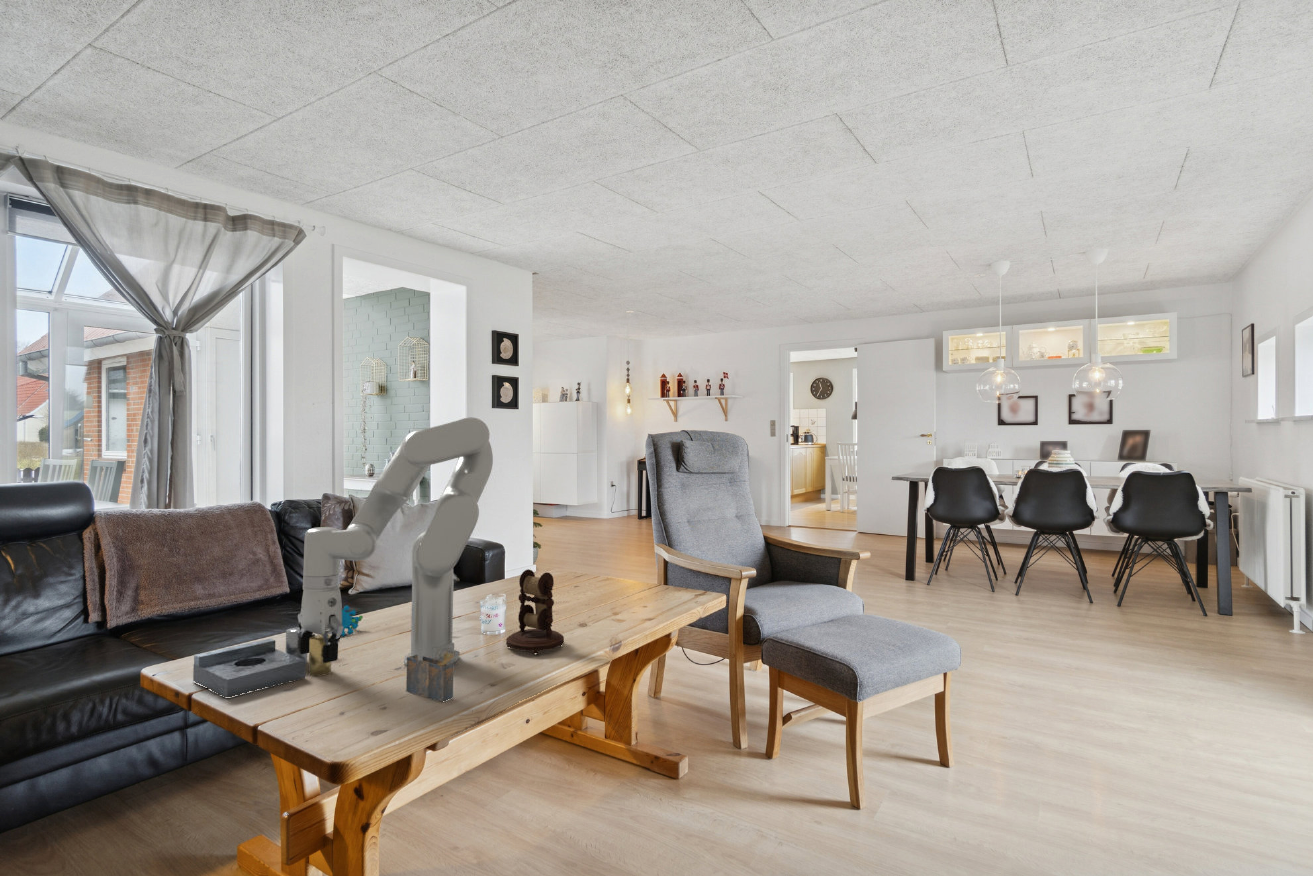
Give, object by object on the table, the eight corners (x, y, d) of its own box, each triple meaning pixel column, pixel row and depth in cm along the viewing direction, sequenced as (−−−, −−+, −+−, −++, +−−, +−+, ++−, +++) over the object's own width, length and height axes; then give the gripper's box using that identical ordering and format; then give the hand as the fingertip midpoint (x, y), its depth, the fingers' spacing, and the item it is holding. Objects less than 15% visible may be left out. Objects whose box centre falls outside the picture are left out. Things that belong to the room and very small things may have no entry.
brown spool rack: (575, 646, 180) (576, 570, 180) (535, 660, 168) (537, 578, 168) (534, 636, 188) (535, 564, 188) (493, 649, 176) (495, 571, 176)
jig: (304, 678, 153) (305, 651, 153) (227, 699, 140) (227, 669, 140) (269, 663, 162) (270, 638, 162) (193, 682, 149) (193, 655, 149)
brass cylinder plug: (335, 672, 157) (335, 637, 157) (315, 677, 153) (316, 641, 153) (324, 668, 160) (325, 633, 160) (304, 673, 156) (305, 638, 156)
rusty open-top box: (454, 700, 143) (455, 653, 143) (443, 704, 140) (443, 657, 140) (417, 689, 149) (418, 644, 149) (406, 693, 146) (407, 647, 146)
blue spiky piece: (324, 634, 181) (320, 602, 187) (316, 646, 184) (313, 615, 190) (366, 632, 189) (361, 602, 195) (358, 645, 191) (354, 614, 197)
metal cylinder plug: (311, 663, 163) (311, 629, 163) (291, 667, 159) (292, 633, 160) (300, 659, 166) (301, 626, 166) (281, 664, 162) (282, 630, 162)
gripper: (358, 585, 155) (355, 661, 155) (317, 574, 165) (314, 646, 165) (326, 590, 149) (323, 669, 148) (285, 579, 159) (282, 653, 158)
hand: (318, 657), depth 157 cm, fingers open, 9 cm apart
